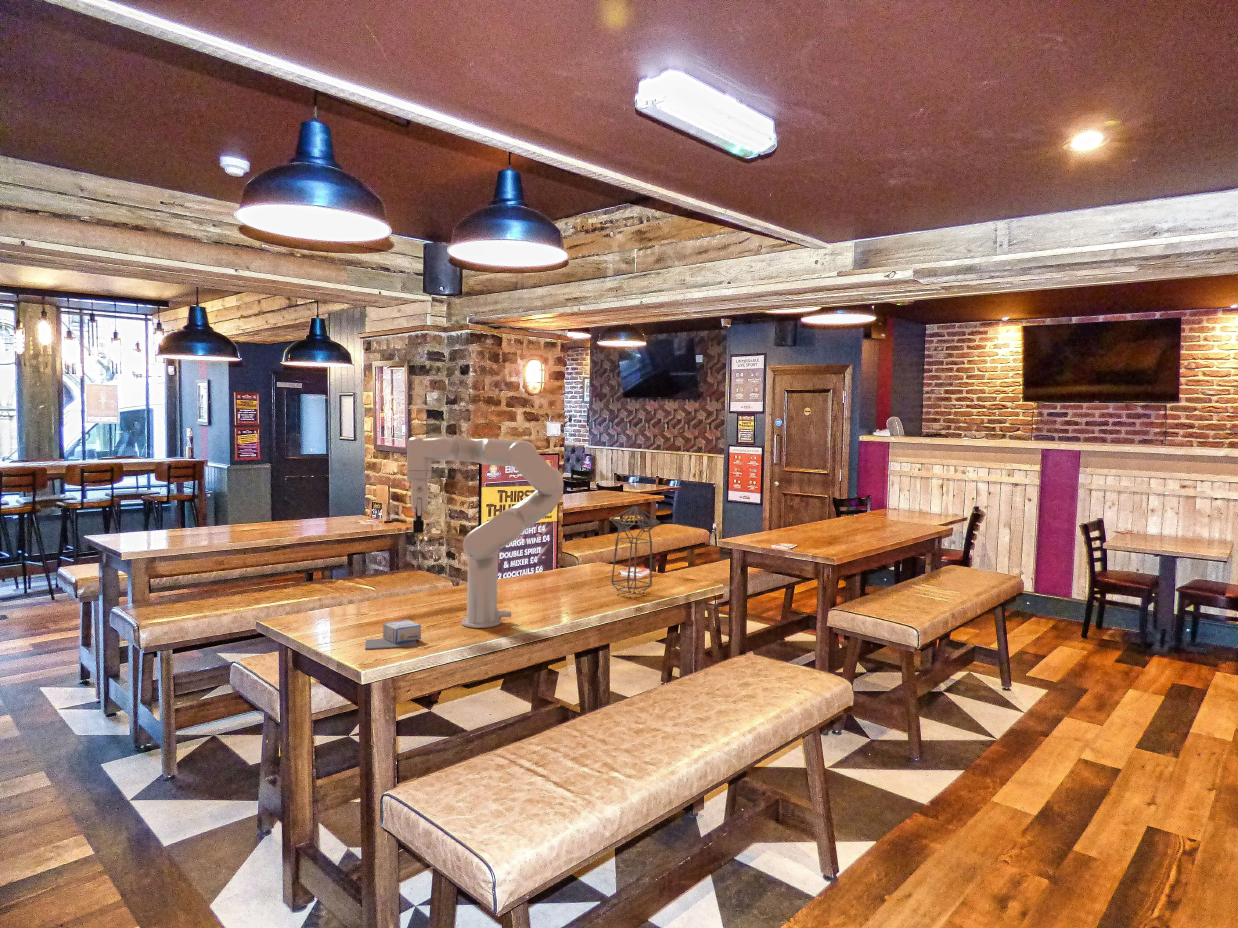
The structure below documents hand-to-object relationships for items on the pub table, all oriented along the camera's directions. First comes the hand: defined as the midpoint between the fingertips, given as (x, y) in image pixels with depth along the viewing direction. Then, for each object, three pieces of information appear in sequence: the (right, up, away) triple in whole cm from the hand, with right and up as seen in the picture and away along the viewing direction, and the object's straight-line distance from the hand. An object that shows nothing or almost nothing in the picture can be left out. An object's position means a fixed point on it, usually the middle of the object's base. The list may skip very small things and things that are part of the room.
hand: (418, 532), depth 233 cm
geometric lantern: (+70, -29, +49) cm, 90 cm away
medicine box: (-2, -27, -17) cm, 32 cm away
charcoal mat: (-1, -30, -24) cm, 38 cm away
